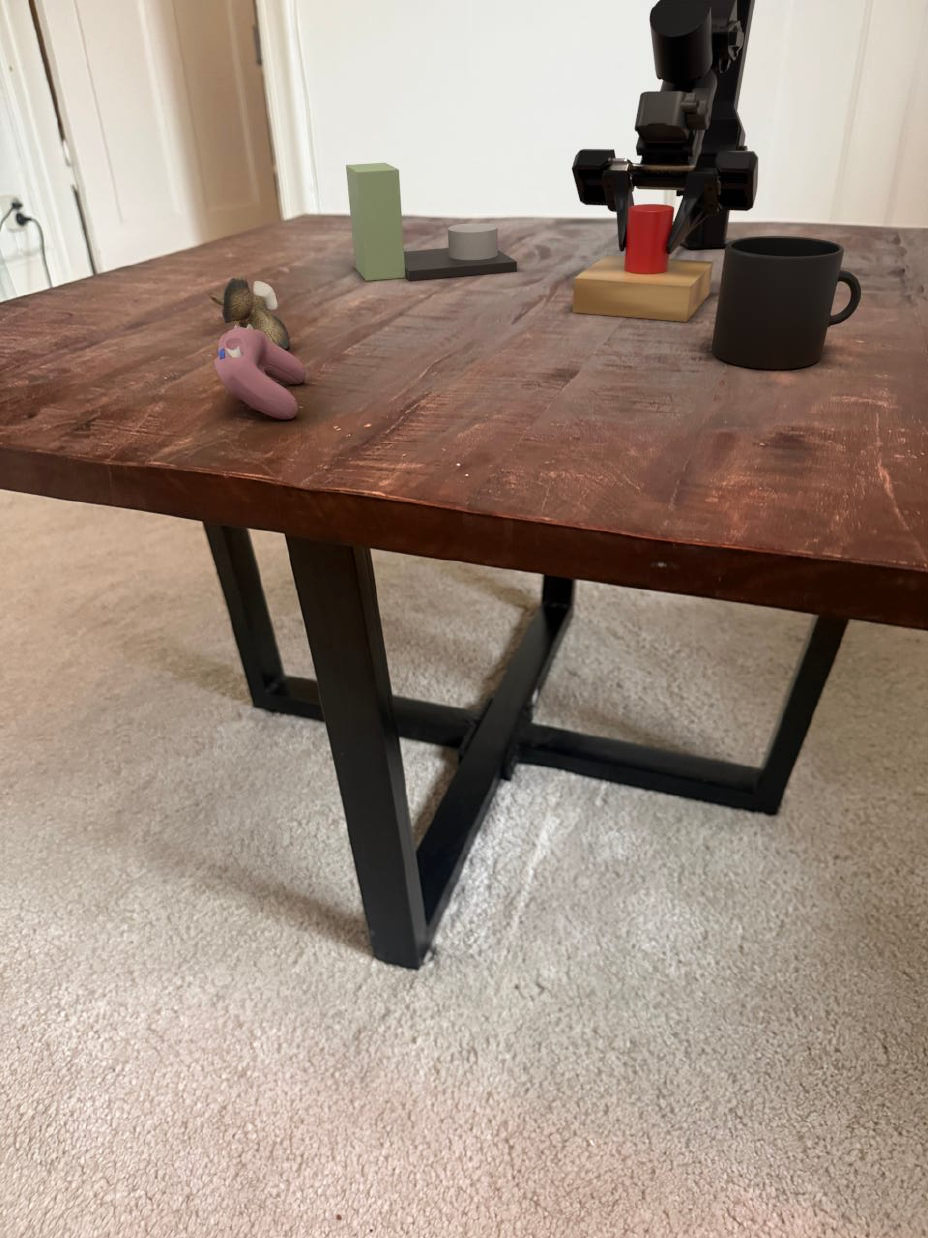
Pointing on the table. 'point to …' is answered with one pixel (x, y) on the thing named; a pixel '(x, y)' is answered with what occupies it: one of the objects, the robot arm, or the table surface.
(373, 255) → the coffee maker
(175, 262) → the table surface
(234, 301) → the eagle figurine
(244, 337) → the video game controller
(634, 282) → the block
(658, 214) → the cylinder
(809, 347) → the mug
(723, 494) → the table surface
